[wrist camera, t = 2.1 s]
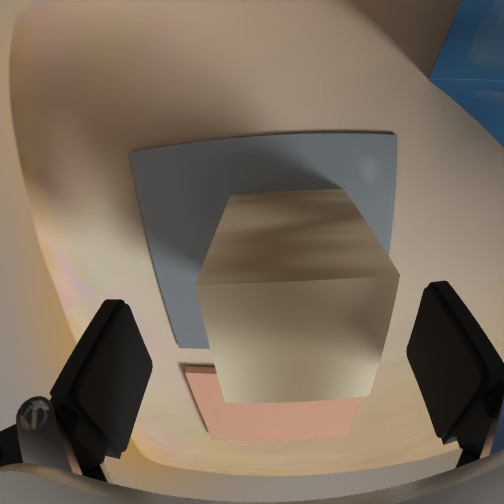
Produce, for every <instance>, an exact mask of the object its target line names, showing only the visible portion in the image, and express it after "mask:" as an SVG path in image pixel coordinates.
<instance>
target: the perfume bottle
mask: <svg viewBox="0 0 504 504" xmlns="http://www.w3.org/2000/svg"><path fill="white" fill-rule="evenodd" d="M428 80H430V81H431V82H432V83H434V84H435V85H436V86H437V87H439V88H440V89H441V90H443V91H444V92H445V93H446V94H447V95H449V96H450V97H451V98H452V99H453V100H455V101H456V102H457V103H458V104H459V105H460V106H462V107H463V108H464V109H465V110H466V111H467V112H468V113H469V114H471V115H472V116H473V117H474V118H475V119H476V120H477V121H478V122H479V123H480V124H481V125H482V126H483V127H484V128H485V129H486V130H487V131H488V132H489V133H490V134H491V135H492V136H493V137H494V138H495V139H496V140H497V141H498V142H499V143H500V144H501V145H502V146H503V147H504V0H462V1H461V3H460V6H459V8H458V11H457V14H456V16H455V19H454V21H453V24H452V26H451V29H450V31H449V33H448V36H447V38H446V41H445V43H444V45H443V48H442V50H441V52H440V55H439V57H438V59H437V61H436V63H435V66H434V68H433V70H432V72H431V74H430V77H429V79H428Z"/></svg>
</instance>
